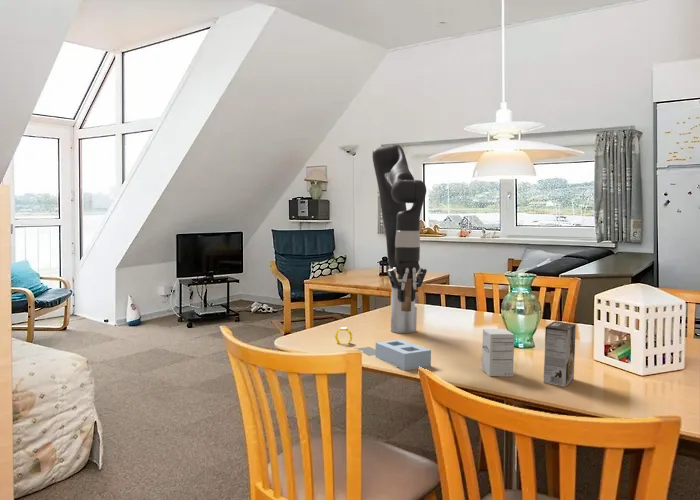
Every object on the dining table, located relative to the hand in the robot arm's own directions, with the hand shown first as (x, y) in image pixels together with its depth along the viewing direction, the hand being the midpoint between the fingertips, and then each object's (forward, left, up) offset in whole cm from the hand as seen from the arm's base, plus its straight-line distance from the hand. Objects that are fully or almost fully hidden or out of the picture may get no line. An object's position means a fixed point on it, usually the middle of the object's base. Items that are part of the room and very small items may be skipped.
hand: (406, 301), depth 175 cm
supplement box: (-19, +20, -20) cm, 34 cm away
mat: (+2, -18, -20) cm, 27 cm away
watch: (+4, -32, -20) cm, 38 cm away
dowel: (0, 0, -3) cm, 3 cm away
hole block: (-1, -3, -20) cm, 20 cm away
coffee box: (-29, +34, -20) cm, 49 cm away
